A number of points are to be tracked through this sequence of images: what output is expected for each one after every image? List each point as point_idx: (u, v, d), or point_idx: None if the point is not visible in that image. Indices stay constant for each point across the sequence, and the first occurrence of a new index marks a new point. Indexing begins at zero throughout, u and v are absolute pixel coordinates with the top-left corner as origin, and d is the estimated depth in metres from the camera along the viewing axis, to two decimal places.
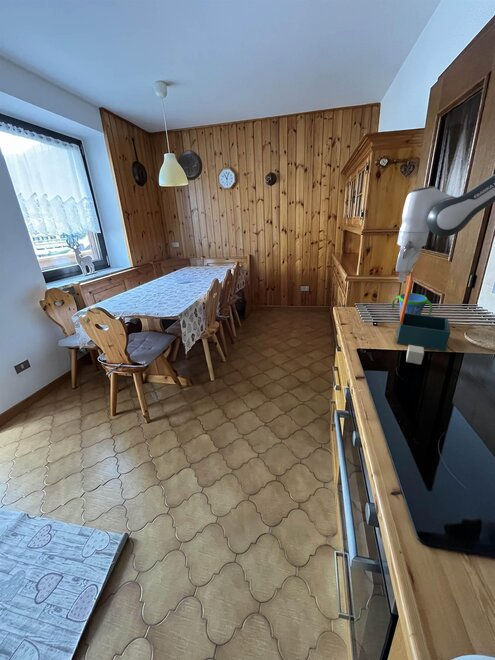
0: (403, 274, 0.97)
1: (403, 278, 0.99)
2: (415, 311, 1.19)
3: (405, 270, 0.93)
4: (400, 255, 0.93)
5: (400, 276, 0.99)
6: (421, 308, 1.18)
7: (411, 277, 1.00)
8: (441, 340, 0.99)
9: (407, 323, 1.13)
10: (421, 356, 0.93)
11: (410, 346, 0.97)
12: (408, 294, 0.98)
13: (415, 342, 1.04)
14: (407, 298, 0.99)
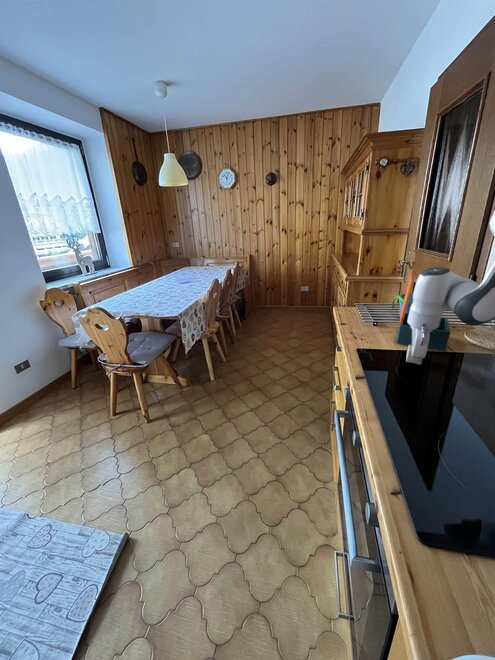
0: None
1: (417, 357, 0.92)
2: None
3: (423, 357, 0.85)
4: (417, 342, 0.85)
5: None
6: None
7: (412, 277, 1.00)
8: (441, 340, 0.99)
9: (407, 323, 1.13)
10: None
11: (410, 346, 0.97)
12: (409, 294, 0.98)
13: None
14: (408, 298, 0.99)
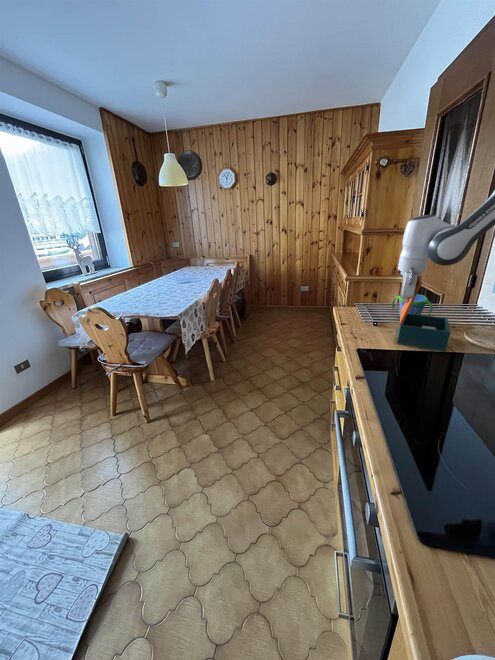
0: None
1: (407, 299, 1.03)
2: (415, 311, 1.19)
3: (411, 296, 0.94)
4: (406, 282, 0.94)
5: None
6: (421, 308, 1.18)
7: (420, 278, 0.99)
8: (441, 340, 0.99)
9: (407, 323, 1.13)
10: None
11: (423, 326, 1.07)
12: (414, 295, 0.97)
13: (415, 342, 1.04)
14: (412, 299, 0.98)
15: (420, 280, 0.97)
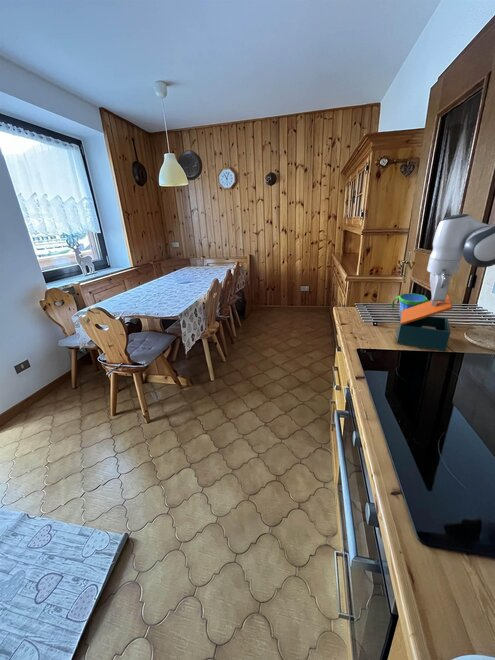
0: None
1: (436, 302, 0.99)
2: None
3: (443, 299, 0.90)
4: (438, 285, 0.90)
5: None
6: None
7: (450, 301, 0.98)
8: (441, 340, 0.99)
9: (407, 323, 1.13)
10: None
11: (423, 326, 1.07)
12: (436, 312, 0.96)
13: (415, 342, 1.04)
14: (431, 314, 0.97)
15: (451, 304, 0.96)
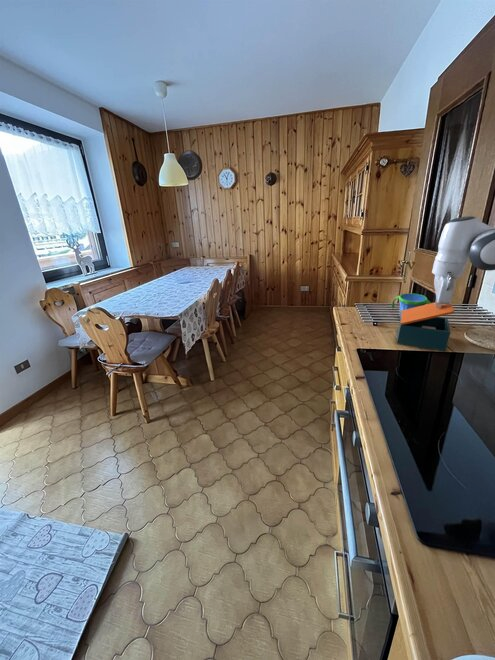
0: None
1: (440, 304, 0.99)
2: None
3: (449, 302, 0.90)
4: (443, 287, 0.89)
5: (438, 302, 0.99)
6: None
7: None
8: (441, 340, 0.99)
9: None
10: None
11: (423, 326, 1.07)
12: (437, 315, 0.97)
13: (415, 342, 1.04)
14: (432, 317, 0.97)
15: (452, 308, 0.97)
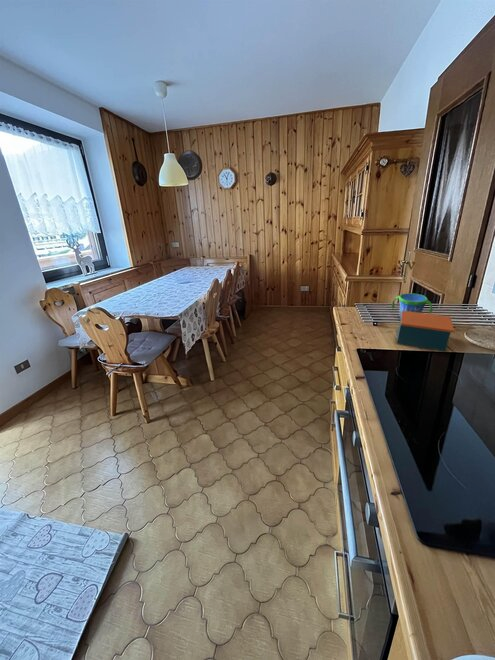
0: None
1: None
2: (415, 311, 1.19)
3: None
4: None
5: None
6: (421, 308, 1.18)
7: None
8: (441, 340, 0.99)
9: None
10: None
11: None
12: (438, 329, 0.98)
13: (415, 342, 1.04)
14: (433, 328, 0.99)
15: (452, 327, 0.99)
